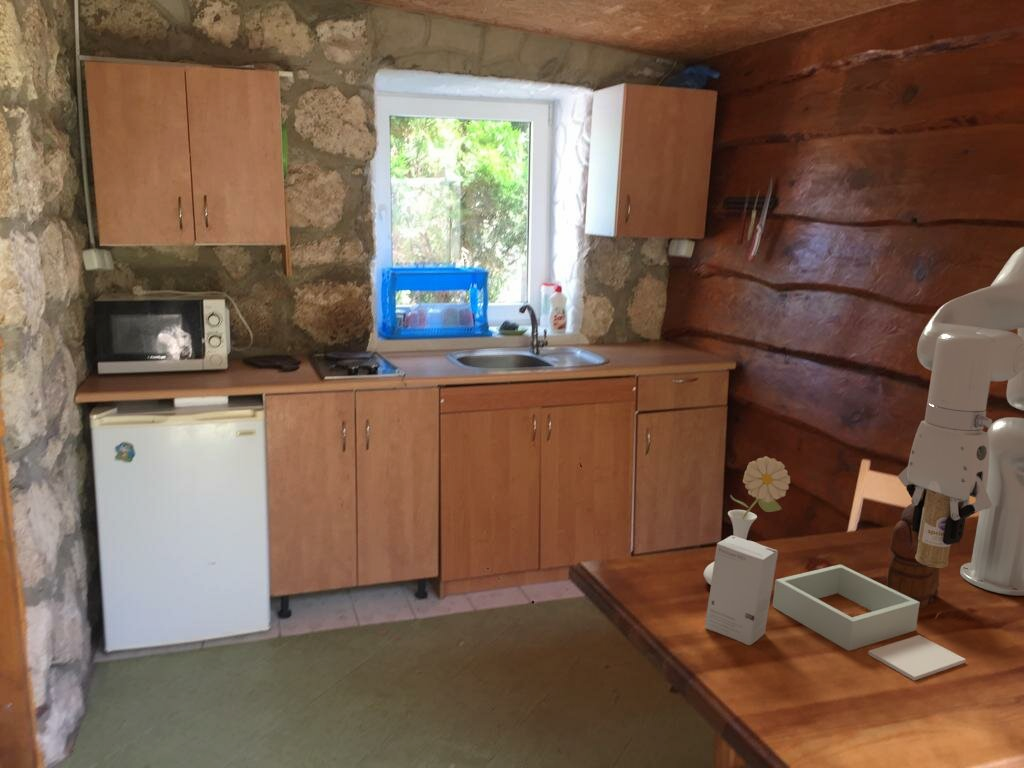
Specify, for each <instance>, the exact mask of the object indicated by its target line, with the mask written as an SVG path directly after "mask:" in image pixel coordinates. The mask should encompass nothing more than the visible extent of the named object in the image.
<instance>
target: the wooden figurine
mask: <svg viewBox="0 0 1024 768" xmlns="http://www.w3.org/2000/svg"><path fill="white" fill-rule="evenodd" d="M914 507H915V505H913V504H912V503H910V504H908V505H907V506H906V507H905V508H904V510H903V511H902V513H901V515H900V521H897V523H896V524H895V526H894V528H893V530H892V534H891V539H890V543H889V544H890V545H889V547H890V551H891V552H892V555H893V556H892V558H891V559H890V560H891V561H890V563H889V567H888V572H887V577H886V578H887V580H886V586H887V587H889V588H891V589H893V590H895V591H897V592H899V593H902V594H904V595H906V596H908V597H910V598H912V599H914V600H916V601H918V602H920V605H919V609H925V608H926V607H928V605H929V604H931V603H933V602H935V599H934V597H937V596H938V595H939V586H940V568H936V567H930V566H927V565H923V564H921V563H919V562H918V561H917V560H916V559H915V555H916V554H917V548H918V541H919V540H918V537H919V532H914V531H912V527H913V522H912V520H913V513H914Z"/></svg>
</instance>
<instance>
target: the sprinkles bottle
mask: <svg viewBox="0 0 1024 768" xmlns="http://www.w3.org/2000/svg"><path fill="white" fill-rule="evenodd" d="M940 493H941V490H940V487H939V484H938V483H937V482H936V481H931V482H930V484H929V485H928V490H927V489H926V496H925V502H924V506H923V511H922V517H921V524H920V530H919V537H918V540H919V541H918V548H917V554H916V555H915V559H916V560H917V561H918V562H919V563H921V564H923V565H927V566H930V567H936V568H939V569H941V568H943V569H944V568H945V567H947V566H948V565H949V556H950V555H949V554H950V549H951V545H952V544H950V545H947V544H944V542H943V537H944V531H945V524H946V519H947V518H950V517H951V510H950V498H949V497H946V496H944V495H942V494H940Z"/></svg>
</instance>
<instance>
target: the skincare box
mask: <svg viewBox="0 0 1024 768" xmlns="http://www.w3.org/2000/svg"><path fill="white" fill-rule="evenodd" d="M715 548H716V549H715V554H714V561H713V562H714V568H713V574H712V581H711V585H710V587H709V588H710V589H709V590H710V591H709V594H708V595H709V596H708V601H707V608H706V609H707V610H706V614H705V615H706V616H705V622H704V623H705V624H704V626H705V629H707V630H709V631H710V632H711V631H712V632H715V633H718V634H720V635H722V636H725V637H728V638H730V639H733V640H736V641H738V642H740V643H741V644H745V645H747V646H752V645H753V644H754V643H755V642H756V641H758V640H759V639H760V638H761V637H763V636H764V635H765V633H766V629H767V622H768V614H769V609H770V604H771V597H772V591H773V585H774V579H775V572H776V566H777V560H778V554H779V551H778V550H777V549H774V548H771V547H768V546H766V545H763V544H760V543H758V542H755V541H752V540H747V539H746V540H745V539H742V538H739V537H736V536H734V534H733V535H730V536H727V537H726V538H725V539H723V540H721V541H719V542H717V543H716V547H715Z"/></svg>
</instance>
